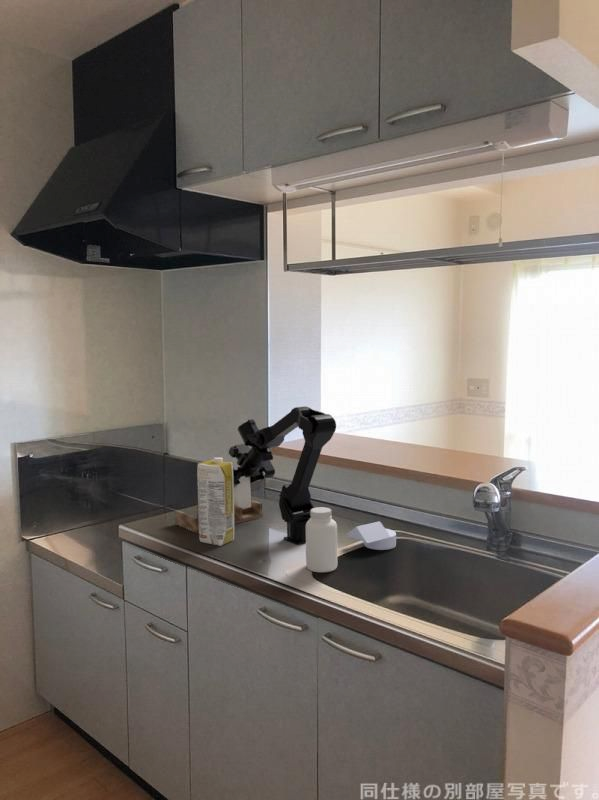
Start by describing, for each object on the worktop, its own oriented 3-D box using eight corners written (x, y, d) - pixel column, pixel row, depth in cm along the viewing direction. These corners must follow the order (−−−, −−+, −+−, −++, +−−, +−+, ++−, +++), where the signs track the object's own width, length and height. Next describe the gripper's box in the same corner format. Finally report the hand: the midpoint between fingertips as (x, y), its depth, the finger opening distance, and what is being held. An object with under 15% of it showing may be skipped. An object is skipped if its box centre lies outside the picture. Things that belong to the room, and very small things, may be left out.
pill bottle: (299, 566, 164) (299, 509, 163) (323, 559, 169) (323, 503, 168) (319, 575, 158) (318, 516, 156) (343, 568, 163) (343, 510, 161)
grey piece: (251, 507, 209) (249, 467, 207) (238, 510, 206) (236, 470, 204) (243, 503, 213) (241, 465, 211) (230, 506, 210) (228, 467, 208)
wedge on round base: (367, 555, 172) (402, 545, 180) (367, 530, 171) (402, 522, 179) (345, 546, 180) (380, 537, 187) (345, 522, 179) (381, 514, 186)
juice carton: (238, 539, 186) (236, 457, 183) (221, 547, 179) (219, 462, 176) (212, 534, 190) (210, 454, 188) (195, 542, 184) (192, 459, 181)
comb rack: (262, 516, 208) (262, 503, 207) (196, 533, 191) (195, 518, 191) (240, 509, 217) (240, 496, 216) (175, 524, 200) (174, 510, 200)
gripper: (269, 434, 209) (251, 462, 219) (219, 440, 198) (202, 470, 208) (284, 461, 204) (265, 489, 214) (233, 469, 192) (215, 498, 202)
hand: (237, 486), depth 209 cm, fingers closed on grey piece, 5 cm apart
